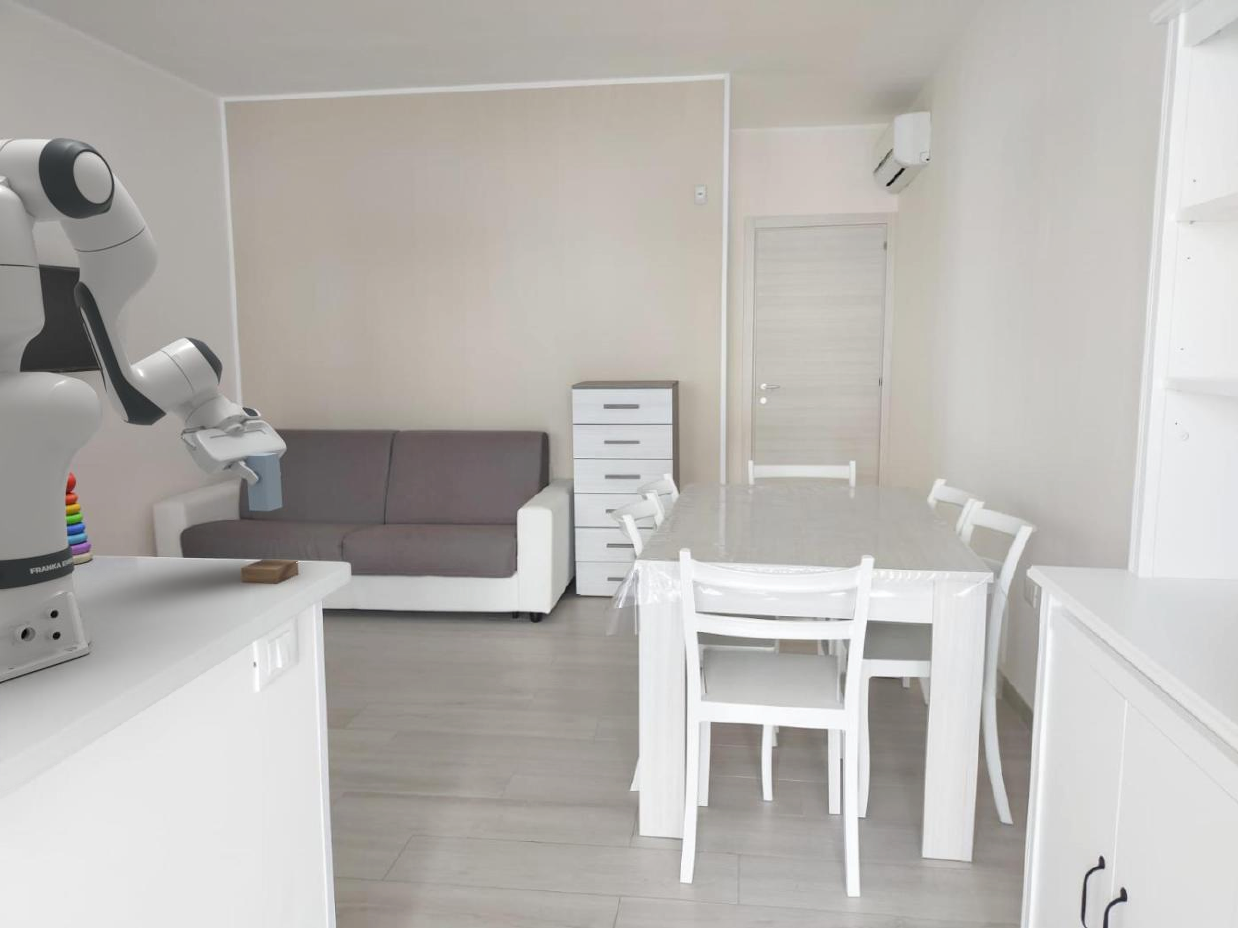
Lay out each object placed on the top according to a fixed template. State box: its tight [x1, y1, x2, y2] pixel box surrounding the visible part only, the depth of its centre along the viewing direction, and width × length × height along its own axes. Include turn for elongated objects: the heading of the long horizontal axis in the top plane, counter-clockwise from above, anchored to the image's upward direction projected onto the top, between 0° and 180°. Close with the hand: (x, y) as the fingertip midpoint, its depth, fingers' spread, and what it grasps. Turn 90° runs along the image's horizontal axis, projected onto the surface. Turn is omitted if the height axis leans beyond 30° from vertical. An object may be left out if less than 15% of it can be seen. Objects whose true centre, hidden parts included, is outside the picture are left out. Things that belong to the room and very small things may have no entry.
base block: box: [240, 558, 299, 585], centre depth 163 cm, size 7×7×3 cm
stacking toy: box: [65, 471, 94, 565], centre depth 176 cm, size 8×8×19 cm
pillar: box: [246, 453, 283, 512], centre depth 161 cm, size 4×4×10 cm
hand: (267, 479), depth 160 cm, fingers closed on pillar, 4 cm apart
